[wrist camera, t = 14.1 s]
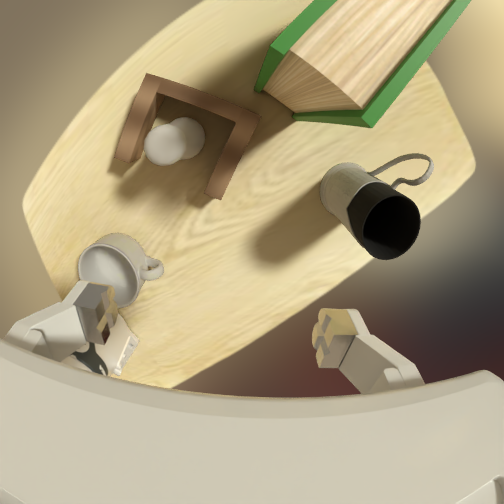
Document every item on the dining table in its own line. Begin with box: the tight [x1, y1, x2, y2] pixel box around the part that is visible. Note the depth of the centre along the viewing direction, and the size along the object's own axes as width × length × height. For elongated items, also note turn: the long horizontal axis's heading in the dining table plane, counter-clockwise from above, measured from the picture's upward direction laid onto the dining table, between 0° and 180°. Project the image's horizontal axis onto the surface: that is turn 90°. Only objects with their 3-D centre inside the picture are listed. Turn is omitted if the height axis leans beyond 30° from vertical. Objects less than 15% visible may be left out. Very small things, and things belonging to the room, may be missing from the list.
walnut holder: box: [114, 73, 262, 200], centre depth 33 cm, size 12×16×4 cm
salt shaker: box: [144, 117, 205, 166], centre depth 30 cm, size 6×6×13 cm
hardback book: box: [254, 0, 471, 128], centre depth 20 cm, size 18×7×24 cm, turn 144°
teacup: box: [78, 233, 164, 308], centre depth 40 cm, size 14×11×8 cm
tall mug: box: [320, 153, 434, 260], centre depth 32 cm, size 9×14×15 cm, turn 143°
